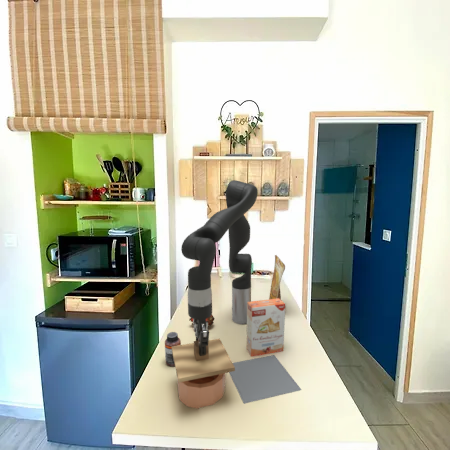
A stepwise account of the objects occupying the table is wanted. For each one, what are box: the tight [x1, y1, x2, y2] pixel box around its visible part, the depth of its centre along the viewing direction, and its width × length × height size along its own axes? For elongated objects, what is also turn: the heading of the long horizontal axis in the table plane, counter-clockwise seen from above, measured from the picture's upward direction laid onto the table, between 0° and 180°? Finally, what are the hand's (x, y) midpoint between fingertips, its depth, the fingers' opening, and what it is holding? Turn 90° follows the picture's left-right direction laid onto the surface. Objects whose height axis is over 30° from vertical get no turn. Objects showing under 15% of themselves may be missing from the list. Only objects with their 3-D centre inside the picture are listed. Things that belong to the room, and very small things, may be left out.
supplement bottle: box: [164, 331, 182, 367], centre depth 110 cm, size 6×6×11 cm
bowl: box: [177, 373, 226, 410], centre depth 95 cm, size 15×15×7 cm
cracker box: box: [246, 298, 286, 358], centre depth 115 cm, size 14×6×21 cm, turn 105°
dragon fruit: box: [189, 314, 215, 327], centre depth 137 cm, size 8×8×12 cm
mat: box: [228, 354, 302, 404], centre depth 101 cm, size 20×20×1 cm
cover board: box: [172, 338, 235, 384], centre depth 93 cm, size 17×17×6 cm
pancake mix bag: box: [268, 254, 286, 301], centre depth 151 cm, size 7×19×28 cm, turn 176°
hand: (201, 350), depth 93 cm, fingers closed on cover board, 4 cm apart
